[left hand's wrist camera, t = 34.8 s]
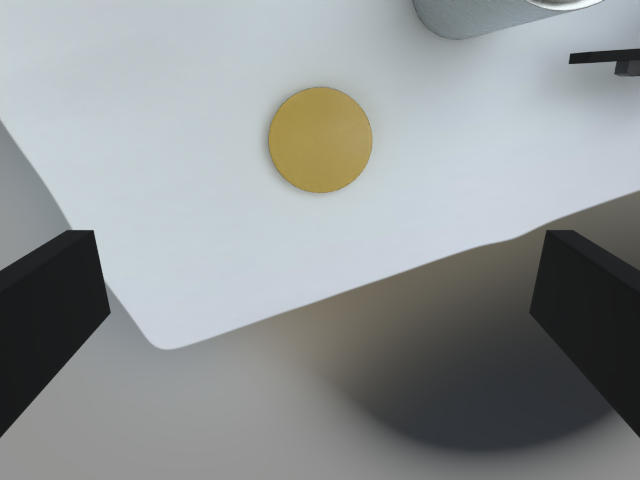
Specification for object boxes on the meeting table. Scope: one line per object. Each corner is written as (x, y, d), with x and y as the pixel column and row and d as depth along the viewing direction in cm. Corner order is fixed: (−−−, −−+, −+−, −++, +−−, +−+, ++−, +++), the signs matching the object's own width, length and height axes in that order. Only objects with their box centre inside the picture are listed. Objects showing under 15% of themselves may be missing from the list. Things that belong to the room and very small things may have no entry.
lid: (293, 69, 38) (292, 69, 36) (387, 113, 39) (390, 115, 38) (256, 165, 41) (253, 169, 39) (344, 202, 42) (345, 208, 41)
